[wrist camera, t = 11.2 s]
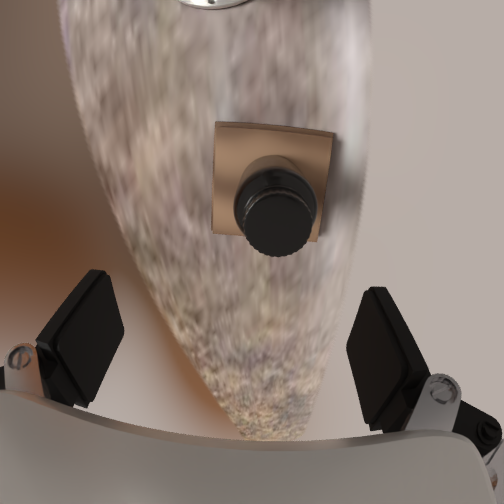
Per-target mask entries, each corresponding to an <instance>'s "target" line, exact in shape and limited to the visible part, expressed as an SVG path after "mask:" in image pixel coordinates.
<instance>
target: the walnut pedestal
mask: <svg viewBox="0 0 504 504" xmlns="http://www.w3.org/2000/svg"><path fill="white" fill-rule="evenodd" d="M332 141H333V133H331V132H325V131H318V130H311V129H304V128H296V127H287V126H277V125H266V124H254V123H238V122H215V135H214V156H213V181H212V216H211V230H212V231H213V234H225V235H238V236H244V234H243V233H242V232H241V231H240V229H239V228H238V226H237V224H236V221H235V218H234V213H233V203H234V197H235V194H236V191H237V188H238V184H239V181H240V178H241V176H242V174H243V172H244V170H245V169H246V167H247V166H248V165H249V164H250V163H251V162H253V161H254V160H256V159H258V158H260V157H263V156H267V155H276V156H281V157H284V158H286V159H288V160H290V161H292V162H293V163H294V164H295V165H296V166H297V167H298V168H299V169H300V171H301V172H302V173H303V175H304V176H305V178H306V179H307V180H308V182H309V183H310V184H311V186H312V188H313V190H314V192H315V195H316V198H317V204H318V211H317V217H316V221H315V223H314V225H313V227H312V232H311V234H310V238H309V239H308V240H307V241H310V242H317V239H318V233H319V228H320V222H321V216H322V210H323V204H324V198H325V191H326V185H327V178H328V171H329V164H330V157H331V149H332Z"/></svg>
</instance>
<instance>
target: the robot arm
mask: <svg viewBox="0 0 504 504" xmlns="http://www.w3.org/2000/svg"><path fill="white" fill-rule="evenodd" d="M178 1H179V2H181V3H183V4H185V5H187V6H191V7H194V8H200V9H221V8H227V7H231V6H235V5H238V4H240V3H243V2H246V1H247V0H178ZM213 2H214V4H211V3H213ZM123 336H124V326H123V323H122V319H121V316H120V313H119V309H118V305H117V302H116V298H115V294H114V290H113V287H112V282H111V278H110V276H109V275H107V274H106V272H105V271H103V270H94V269H92V270H90V271H89V272H88V273H87V274H86V275H85V276H84V278H83V279H82V280H81V281H80V282H79V283H78V285H77V286H76V287H75V288H74V290H73V291H72V292H71V293H70V294H69V296H68V297H67V298H66V300H65V301H64V302H63V303H62V305H61V306H60V307H59V308H58V310H57V311H56V312H55V314H54V315H53V317H52V318H51V319H50V321H49V322H48V323H47V324H46V326H45V327H44V329H43V330H42V331H41V333H40V334H39V335H38V337H37V338H36V342H37V345H36V347H34V346H33V345H32V344H30V343H20V344H17V345H15V346H14V347H12V348H11V349H10V350H9V351H8V353H7V354H6V356H5V360H4V366H2V367H0V504H504V439H502V429H501V426H500V424H499V423H498V422H497V420H496V419H495V418H493V417H492V416H490V415H488V414H486V413H484V412H483V411H480V410H479V409H477V408H475V407H473V406H471V405H469V404H468V403H466V402H464V401H462V400H461V389H460V387H459V385H458V383H457V382H456V381H455V380H454V379H453V378H451V377H450V376H448V375H445V374H438V373H437V374H433V375H431V374H430V372H429V369H428V367H427V364H426V362H425V360H424V358H423V356H422V354H421V352H420V350H419V348H418V346H417V344H416V342H415V340H414V338H413V336H412V334H411V332H410V330H409V328H408V326H407V324H406V322H405V321H404V319H403V317H402V315H401V313H400V311H399V309H398V308H397V306H396V304H395V302H394V301H393V299H392V297H391V295H390V294H389V292H388V290H387V289H386V287H370V288H369V289H368V290H366V291H365V292H364V294H363V297H362V300H361V304H360V306H359V309H358V313H357V315H356V319H355V321H354V324H353V327H352V330H351V333H350V336H349V338H348V341H347V347H346V351H347V355H348V359H349V362H350V366H351V370H352V374H353V377H354V381H355V385H356V389H357V393H358V397H359V401H360V405H361V410H362V414H363V418H364V421H365V423H366V424H369V427H370V431H376V430H382V431H383V434H377V435H370V436H362V437H353V438H343V439H342V438H341V439H330V440H315V441H247V440H231V439H219V438H209V437H200V436H193V435H186V434H179V433H173V432H167V431H162V430H156V429H151V428H146V427H142V426H137V425H133V424H128V423H124V422H120V421H116V420H112V419H109V418H105V417H102V416H99V415H95V414H92V413H88V412H85V411H82V410H79V409H76V408H73V406H74V404H76V405H78V406H81V407H84V408H88V405H89V403H90V402H93V400H94V399H95V397H96V394H97V392H98V390H99V387H100V385H101V383H102V381H103V378H104V376H105V374H106V372H107V370H108V368H109V365H110V363H111V361H112V359H113V357H114V355H115V353H116V350H117V348H118V346H119V344H120V342H121V340H122V338H123Z"/></svg>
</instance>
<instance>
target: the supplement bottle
mask: <svg viewBox="0 0 504 504" xmlns="http://www.w3.org/2000/svg"><path fill="white" fill-rule="evenodd" d="M317 211H318V204H317V198H316V195H315V192H314V190H313V188H312V186H311V184H310V183H309V182H308V180H307V179H306V178H305V176H304V175H303V173H302V172H301V171H300V169H299V168H298V167H297V166H296V165H295V164H294V163H293V162H292V161H290V160H288V159H286V158H284V157H281V156H276V155H267V156H263V157H260V158H258V159H256V160H254V161H253V162H251V163H250V164H249V165H248V166H247V167H246V169H245V170H244V172H243V174H242V176H241V178H240V181H239V184H238V188H237V191H236V194H235V197H234V203H233V213H234V218H235V221H236V224H237V226H238V228H239V229H240V231H241V232H242V233H243V234H244V236H245V237H246V239H247V240H248V241H249V243H250V245H252V246H253V247H254V249H256V250H258V251H259V252H260V253H264V254H265V255H269V256H271V257H274V256H276V257H281V256H287V255H291V254H293V253H294V252H297V251H298V250H299V249H301V248H302V247H303V245H304V244H306V243H307V240H308V239H309V238H310V234H311V232H312V227H313V225H314V223H315V221H316V217H317Z"/></svg>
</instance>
